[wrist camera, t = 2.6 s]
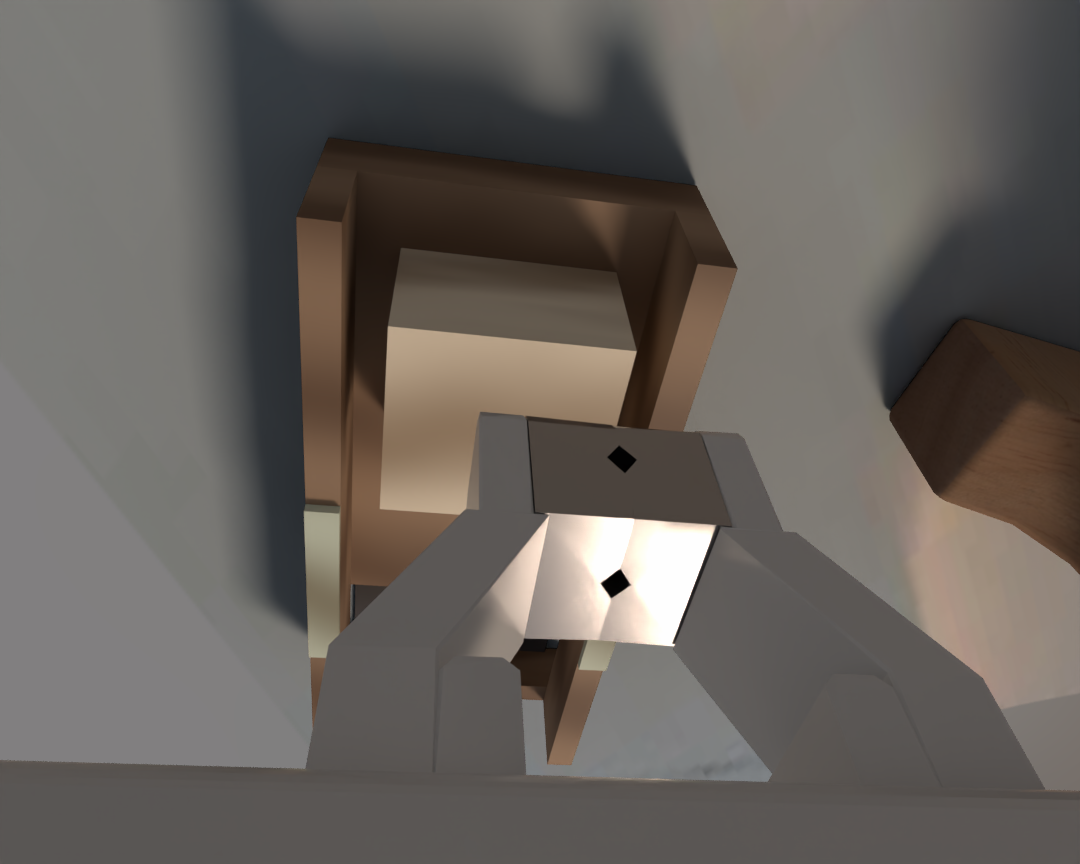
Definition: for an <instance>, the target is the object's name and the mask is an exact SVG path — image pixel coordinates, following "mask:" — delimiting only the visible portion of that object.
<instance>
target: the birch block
mask: <svg viewBox="0 0 1080 864" xmlns="http://www.w3.org/2000/svg"><path fill="white" fill-rule="evenodd" d="M636 352H637V350H636V346H635V343H634V339H633V335H632V331H631V327H630V323H629V319H628V315H627V312H626V308H625V304H624V300H623V296H622V292H621V288H620V284H619V281H618V277H617V273H616V272H609V271H601V270H592V269H583V268H574V267H565V266H557V265H548V264H539V263H530V262H521V261H513V260H504V259H495V258H486V257H477V256H469V255H460V254H451V253H442V252H434V251H425V250H416V249H407V248H401V251H400V257H399V263H398V269H397V275H396V281H395V287H394V293H393V299H392V305H391V311H390V317H389V323H388V337H387V359H386V381H385V403H384V425H383V447H382V469H381V492H380V509H386V510H400V511H414V512H428V513H442V514H456V515H460V514H461V513H462V512H463V511H464V510H465V509H466V505H467V494H468V486H469V478H470V471H471V463H472V456H473V448H474V441H475V433H476V426H477V420H478V417H479V413H480V412H491V413H502V414H513V415H523V416H524V417H525V416H534V417H543V418H552V419H562V420H571V421H580V422H589V423H599V424H608V425H612V426H617V423H618V419H619V415H620V412H621V408H622V404H623V401H624V397H625V393H626V389H627V386H628V382H629V378H630V375H631V371H632V367H633V363H634V360H635V356H636Z"/></svg>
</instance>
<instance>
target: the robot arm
mask: <svg viewBox="0 0 1080 864" xmlns="http://www.w3.org/2000/svg"><path fill="white" fill-rule="evenodd" d="M524 638H526V639H569V640H601V641H614V642H627V643H640V644H653V645H666V646H674V648H673V650H674V652H675V653H676V654H677V655H678V657H679V658H680V659H681V660H682V662H683V663H684V664H685V665H686V667H687V668H688V669H689V670H690V672H691V673H692V674H693V675H694V677H695V678H696V679H697V680H698V682H699V683H700V684H701V685H702V686H703V688H704V689H705V690H706V691H707V693H708V694H709V695H710V696H711V698H712V699H713V700H714V701H715V703H716V704H717V705H718V706H719V708H720V709H721V710H722V711H723V713H724V714H725V715H726V716H727V718H728V719H729V720H730V721H731V723H732V724H733V725H734V726H735V728H736V729H737V730H738V731H739V733H740V734H741V735H742V736H743V738H744V739H745V740H746V741H747V743H748V744H749V745H750V746H751V748H752V749H753V750H754V751H755V753H756V754H757V755H758V756H759V758H760V759H761V760H762V761H763V763H764V764H765V765H766V766H767V768H768V769H769V770H770V771H771V773H772V776H771V777H770V779H769V781H768V782H748V781H714V780H679V779H644V778H610V777H575V776H540V775H526V764H525V746H524V729H523V711H522V693H521V676H520V670H519V669H517V668H516V667H515V666H513V665H512V664H511V663H510V662H511V660H512V659H513V657H514V656H515V654H516V653H517V651H518V650H519V648H520V647H521V645H522V644H523V640H524ZM0 864H1080V791H1070V790H1067V791H1066V790H1045V788H1044V786H1043V784H1042V782H1041V781H1040V779H1039V777H1038V775H1037V774H1036V772H1035V770H1034V768H1033V767H1032V765H1031V763H1030V761H1029V759H1028V758H1027V756H1026V754H1025V752H1024V751H1023V749H1022V747H1021V745H1020V743H1019V742H1018V740H1017V739H1016V736H1015V735H1014V733H1013V731H1012V729H1011V728H1010V726H1009V724H1008V722H1007V720H1006V719H1005V717H1004V715H1003V713H1002V712H1001V710H1000V708H999V706H998V704H997V703H996V701H995V699H994V697H993V696H992V694H991V692H990V690H989V689H988V687H987V685H986V683H985V681H984V680H983V678H982V677H981V676H979V675H978V674H977V673H975V672H974V671H973V670H972V669H970V668H969V667H968V666H966V665H965V664H964V663H963V662H961V661H960V660H959V659H958V658H956V657H955V656H954V655H952V654H951V653H950V652H949V651H947V650H946V649H945V648H943V647H942V646H941V645H940V644H938V643H937V642H936V641H934V640H933V639H932V638H931V637H929V636H928V635H927V634H925V633H924V632H923V631H922V630H920V629H919V628H918V627H917V626H915V625H914V624H913V623H911V622H910V621H909V620H908V619H906V618H905V617H904V616H902V615H901V614H900V613H899V612H897V611H896V610H895V609H893V608H892V607H891V606H890V605H888V604H887V603H886V602H884V601H883V600H882V599H881V598H879V597H878V596H877V595H876V594H874V593H873V592H872V591H870V590H869V589H868V588H867V587H865V586H864V585H863V584H861V583H860V582H859V581H858V580H856V579H855V578H854V577H852V576H851V575H850V574H849V573H847V572H846V571H845V570H843V569H842V568H841V567H840V566H838V565H837V564H836V563H835V562H833V561H832V560H831V559H829V558H828V557H827V556H826V555H824V554H823V553H822V552H820V551H819V550H818V549H817V548H815V547H814V546H813V545H811V544H810V543H809V542H808V541H806V540H805V539H804V538H802V537H801V536H800V535H799V534H797V533H796V532H784V531H783V530H782V527H781V525H780V522H779V520H778V518H777V515H776V513H775V511H774V508H773V506H772V503H771V501H770V499H769V496H768V494H767V492H766V489H765V487H764V484H763V482H762V480H761V477H760V475H759V472H758V470H757V468H756V465H755V463H754V461H753V458H752V456H751V453H750V451H749V449H748V446H747V444H746V442H745V439H744V438H743V437H742V436H740V435H739V434H738V433H721V432H703V431H695V432H684V431H672V430H659V429H646V428H633V427H621V426H612V425H608V424H599V423H589V422H580V421H571V420H562V419H552V418H543V417H534V416H525V417H524V416H523V415H513V414H502V413H491V412H480V413H479V417H478V420H477V426H476V433H475V441H474V448H473V456H472V463H471V471H470V478H469V486H468V494H467V505H466V509H465V510H464V511H463V512H462V513H461V514H460V515H459V516H458V517H457V518H456V519H455V520H454V521H453V522H452V523H451V524H450V525H449V526H448V527H447V528H446V529H445V530H444V531H443V532H442V533H441V534H440V535H439V536H438V537H437V538H436V539H435V540H434V541H433V542H432V543H431V544H430V545H429V546H428V547H427V548H426V549H425V550H424V551H423V552H422V553H421V554H420V555H419V556H418V557H417V558H416V559H415V560H414V561H413V562H412V563H411V564H410V565H409V566H408V567H407V568H406V569H405V570H404V571H403V572H402V573H401V574H400V575H399V576H398V577H397V578H396V579H395V580H394V581H393V582H392V583H391V584H390V585H389V586H388V587H387V588H386V589H385V590H384V591H383V592H382V593H381V594H380V595H379V596H378V597H377V598H376V599H374V600H373V601H372V602H371V603H370V604H369V605H368V606H367V607H366V608H365V609H364V610H363V611H362V612H361V613H360V614H359V615H358V616H357V617H356V618H355V619H354V620H353V621H352V622H351V623H350V624H349V625H348V626H347V627H346V628H345V629H344V630H343V631H342V632H341V633H340V634H339V635H338V636H337V637H336V638H335V639H334V640H333V641H332V642H331V643H330V644H329V645H328V651H327V656H326V661H325V667H324V672H323V677H322V683H321V688H320V694H319V699H318V704H317V710H316V715H315V720H314V726H313V731H312V736H311V742H310V747H309V753H308V758H307V763H306V769H294V768H293V769H292V768H258V767H255V768H254V767H222V766H187V765H186V766H185V765H152V764H151V765H150V764H117V763H115V764H114V763H79V762H47V761H45V762H44V761H11V760H9V761H8V760H0Z"/></svg>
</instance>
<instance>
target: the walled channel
mask: <svg viewBox="0 0 1080 864" xmlns="http://www.w3.org/2000/svg"><path fill="white" fill-rule="evenodd" d="M296 223H297V254H298V285H299V316H300V347H301V378H302V409H303V440H304V471H305V502H306V504H305V509H304V530H305V559H306V589H307V618H308V647H309V657H311V688H312V719H313V726H314V720H315V715H316V710H317V704H318V699H319V694H320V688H321V683H322V677H323V672H324V667H325V661H326V656H327V651H328V645H329V644H330V643H331V642H332V641H333V640H334V639H335V638H336V637H337V636H338V635H339V634H340V633H341V632H342V631H343V630H344V629H345V628H346V627H347V626H348V625H349V624H350V590H351V584H356V585H355V618H356V617H357V616H358V615H359V614H360V613H361V612H362V611H363V610H364V609H365V608H366V607H367V606H368V605H369V604H370V603H371V602H372V601H373V600H374V599H376V598H377V597H378V596H379V595H380V594H381V593H382V592H383V591H384V590H385V589H386V588H387V587H388V586H389V585H390V584H391V583H392V582H393V581H394V580H395V579H396V578H397V577H398V576H399V575H400V574H401V573H402V572H403V571H404V570H405V569H406V568H407V567H408V566H409V565H410V564H411V563H412V562H413V561H414V560H415V559H416V558H417V557H418V556H419V555H420V554H421V553H422V552H423V551H424V550H425V549H426V548H427V547H428V546H429V545H430V544H431V543H432V542H433V541H434V540H435V539H436V538H437V537H438V536H439V535H440V534H441V533H442V532H443V531H444V530H445V529H446V528H447V527H448V526H449V525H450V524H451V523H452V522H453V521H454V520H455V519H456V518H457V517H458V516H459V515H456V514H442V513H428V512H414V511H400V510H386V509H380V492H381V469H382V447H383V425H384V403H385V381H386V359H387V337H388V323H389V317H390V311H391V305H392V299H393V293H394V287H395V281H396V275H397V269H398V263H399V257H400V251H401V248H407V249H416V250H425V251H434V252H442V253H451V254H460V255H469V256H477V257H486V258H495V259H504V260H513V261H521V262H530V263H539V264H548V265H557V266H565V267H574V268H583V269H592V270H601V271H609V272H616V273H617V277H618V281H619V284H620V288H621V292H622V296H623V300H624V304H625V308H626V312H627V315H628V319H629V323H630V327H631V331H632V335H633V339H634V343H635V346H636V350H637V352H636V356H635V360H634V363H633V367H632V371H631V375H630V378H629V382H628V386H627V389H626V393H625V397H624V401H623V404H622V408H621V412H620V415H619V419H618V423H617V426H621V427H633V428H646V429H659V430H672V431H683V430H684V427H685V424H686V421H687V418H688V415H689V412H690V409H691V406H692V403H693V400H694V397H695V394H696V391H697V388H698V385H699V382H700V379H701V376H702V373H703V370H704V367H705V364H706V361H707V358H708V355H709V352H710V349H711V346H712V343H713V340H714V337H715V334H716V331H717V329H718V326H719V323H720V320H721V317H722V314H723V311H724V308H725V305H726V302H727V299H728V296H729V293H730V290H731V287H732V284H733V281H734V278H735V275H736V272H737V269H738V268H737V266H736V264H735V262H734V260H733V258H732V256H731V254H730V252H729V250H728V248H727V246H726V244H725V242H724V240H723V238H722V236H721V234H720V232H719V230H718V228H717V226H716V224H715V222H714V220H713V218H712V216H711V214H710V212H709V210H708V208H707V206H706V204H705V202H704V200H703V198H702V196H701V194H700V192H699V190H698V188H697V186H695V185H687V184H680V183H672V182H664V181H657V180H649V179H641V178H634V177H626V176H618V175H610V174H603V173H595V172H587V171H580V170H572V169H564V168H557V167H549V166H541V165H534V164H526V163H518V162H511V161H503V160H495V159H488V158H480V157H472V156H465V155H457V154H449V153H441V152H434V151H426V150H418V149H411V148H403V147H395V146H388V145H380V144H372V143H365V142H357V141H349V140H342V139H334V138H328V140H327V142H326V145H325V147H324V150H323V152H322V155H321V157H320V160H319V162H318V165H317V167H316V170H315V172H314V175H313V177H312V180H311V182H310V184H309V187H308V189H307V192H306V194H305V197H304V199H303V202H302V204H301V207H300V209H299V212H298V214H297V217H296ZM547 640H548V639H526V638H524V640H523V644H522V645H521V647H520V648H519V650H518V651H517V653H516V654H515V656H514V657H513V659H512V660H511V662H510V663H511V664H512V665H513V666H515V667H516V668H517V669H519V670H520V676H521V693H522V699H528V700H543V703H544V719H545V734H546V750H547V764H554V765H571V764H572V761H573V758H574V755H575V752H576V749H577V746H578V743H579V740H580V737H581V734H582V731H583V728H584V725H585V722H586V720H587V717H588V714H589V711H590V708H591V705H592V702H593V699H594V696H595V693H596V690H597V687H598V684H599V681H600V678H601V675H602V672H603V671H606V670H607V667H608V664H609V661H610V658H611V655H612V652H613V649H614V646H615V643H616V642H614V641H601V640H569V639H560V640H559V644H558V648H557V649H546V644H547Z"/></svg>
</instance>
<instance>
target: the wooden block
mask: <svg viewBox="0 0 1080 864" xmlns="http://www.w3.org/2000/svg"><path fill="white" fill-rule="evenodd" d="M889 417H890V421H891V423H892V425H893V426H894V428H895V430H896V431H897V433H898V435H899V436H900V438H901V439H902V441H903V443H904V444H905V446H906V448H907V449H908V451H909V453H910V454H911V456H912V458H913V459H914V461H915V462H916V464H917V466H918V467H919V469H920V471H921V472H922V474H923V476H924V477H925V479H926V481H927V482H928V484H929V485H930V487H931V489H932V490H933V492H934V493H935V494H936V495H937V496H939V497H940V498H942V499H943V500H945V501H947V502H950V503H953V504H956V505H959V506H961V507H964V508H967V509H970V510H973V511H976V512H979V513H981V514H984V515H987V516H990V517H993V518H996V519H999V520H1002V521H1004V522H1007V523H1010V524H1013V525H1014V526H1016V527H1017V528H1018V529H1020V530H1021V531H1023V532H1024V533H1026V534H1027V535H1029V536H1030V537H1031V538H1033V539H1034V540H1036V541H1037V542H1039V543H1040V544H1042V545H1043V546H1045V547H1046V548H1047V549H1049V550H1050V551H1052V552H1053V553H1055V554H1056V555H1058V556H1059V557H1060V558H1062V559H1063V560H1065V561H1066V562H1068V563H1069V564H1070V565H1071V566H1072V567H1073V568H1074V569H1075V570H1076V571H1077V572H1078V573H1079V574H1080V352H1078V351H1075V350H1072V349H1068V348H1065V347H1061V346H1058V345H1055V344H1051V343H1048V342H1045V341H1041V340H1038V339H1034V338H1031V337H1028V336H1024V335H1021V334H1017V333H1014V332H1011V331H1007V330H1004V329H1000V328H997V327H994V326H990V325H987V324H984V323H980V322H977V321H973V320H970V319H960V320H959V321H958V322H956V323H955V324H954V325H953V326H952V328H951V329H950V330H949V332H948V333H947V334H946V336H945V337H944V339H943V340H942V341H941V343H940V344H939V345H938V347H937V348H936V349H935V351H934V352H933V353H932V355H931V356H930V357H929V359H928V360H927V362H926V363H925V364H924V366H923V367H922V368H921V370H920V371H919V372H918V374H917V375H916V376H915V378H914V379H913V380H912V382H911V383H910V385H909V386H908V387H907V389H906V390H905V391H904V393H903V394H902V395H901V397H900V398H899V399H898V401H897V402H896V403H895V405H894V406H893V408H892V409H891V412H890V415H889Z"/></svg>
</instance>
